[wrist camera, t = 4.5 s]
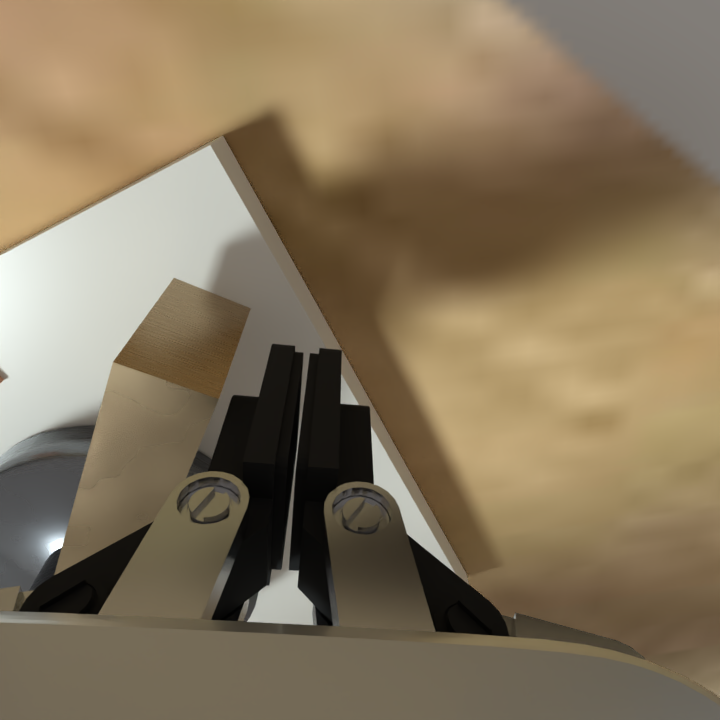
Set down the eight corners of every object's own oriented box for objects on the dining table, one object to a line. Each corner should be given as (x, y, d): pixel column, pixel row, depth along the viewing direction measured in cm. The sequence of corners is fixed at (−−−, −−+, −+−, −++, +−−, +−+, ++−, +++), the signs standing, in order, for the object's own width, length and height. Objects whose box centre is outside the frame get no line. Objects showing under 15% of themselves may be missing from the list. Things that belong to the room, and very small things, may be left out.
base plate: (466, 573, 23) (474, 609, 22) (102, 683, 27) (88, 720, 26) (222, 135, 14) (208, 146, 12) (-285, 403, 18) (-342, 435, 16)
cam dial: (218, 637, 23) (189, 776, 18) (-32, 577, 20) (-133, 721, 16) (386, 345, 15) (402, 463, 11) (24, 197, 13) (-135, 275, 9)
